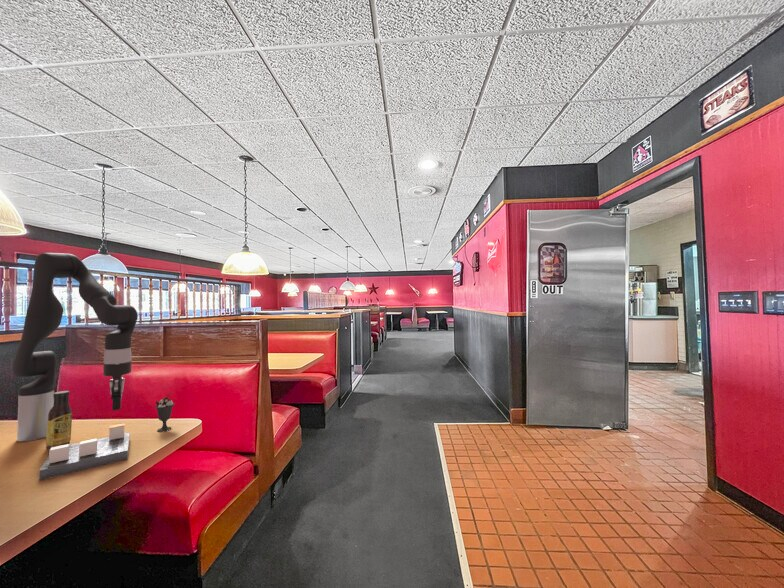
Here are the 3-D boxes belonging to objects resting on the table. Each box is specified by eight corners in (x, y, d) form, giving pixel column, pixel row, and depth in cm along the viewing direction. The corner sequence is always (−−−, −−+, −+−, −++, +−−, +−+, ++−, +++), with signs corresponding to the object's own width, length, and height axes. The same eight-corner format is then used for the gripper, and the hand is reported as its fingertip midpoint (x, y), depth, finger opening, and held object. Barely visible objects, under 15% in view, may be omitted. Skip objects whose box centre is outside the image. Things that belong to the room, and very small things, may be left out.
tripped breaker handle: (109, 437, 113) (109, 425, 113) (124, 434, 116) (124, 423, 116) (108, 440, 111) (109, 428, 111) (124, 437, 114) (124, 425, 114)
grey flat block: (53, 456, 106) (53, 447, 106) (129, 440, 119) (129, 432, 119) (39, 480, 92) (39, 470, 92) (127, 459, 105) (127, 450, 105)
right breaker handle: (51, 460, 97) (51, 447, 97) (69, 456, 100) (69, 443, 100) (49, 463, 95) (49, 450, 95) (67, 459, 98) (68, 446, 98)
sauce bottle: (53, 452, 109) (55, 395, 110) (40, 450, 111) (42, 394, 111) (76, 443, 116) (77, 390, 116) (63, 442, 117) (64, 389, 117)
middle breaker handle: (80, 453, 101) (80, 441, 101) (97, 450, 104) (97, 438, 104) (78, 456, 99) (79, 444, 99) (96, 453, 102) (96, 440, 102)
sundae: (178, 427, 131) (178, 391, 131) (161, 433, 124) (162, 396, 125) (167, 425, 133) (167, 390, 133) (150, 431, 126) (151, 394, 127)
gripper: (105, 359, 114) (104, 406, 114) (101, 365, 104) (100, 417, 103) (132, 357, 119) (130, 402, 118) (130, 362, 108) (129, 412, 108)
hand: (116, 409), depth 111 cm, fingers closed
